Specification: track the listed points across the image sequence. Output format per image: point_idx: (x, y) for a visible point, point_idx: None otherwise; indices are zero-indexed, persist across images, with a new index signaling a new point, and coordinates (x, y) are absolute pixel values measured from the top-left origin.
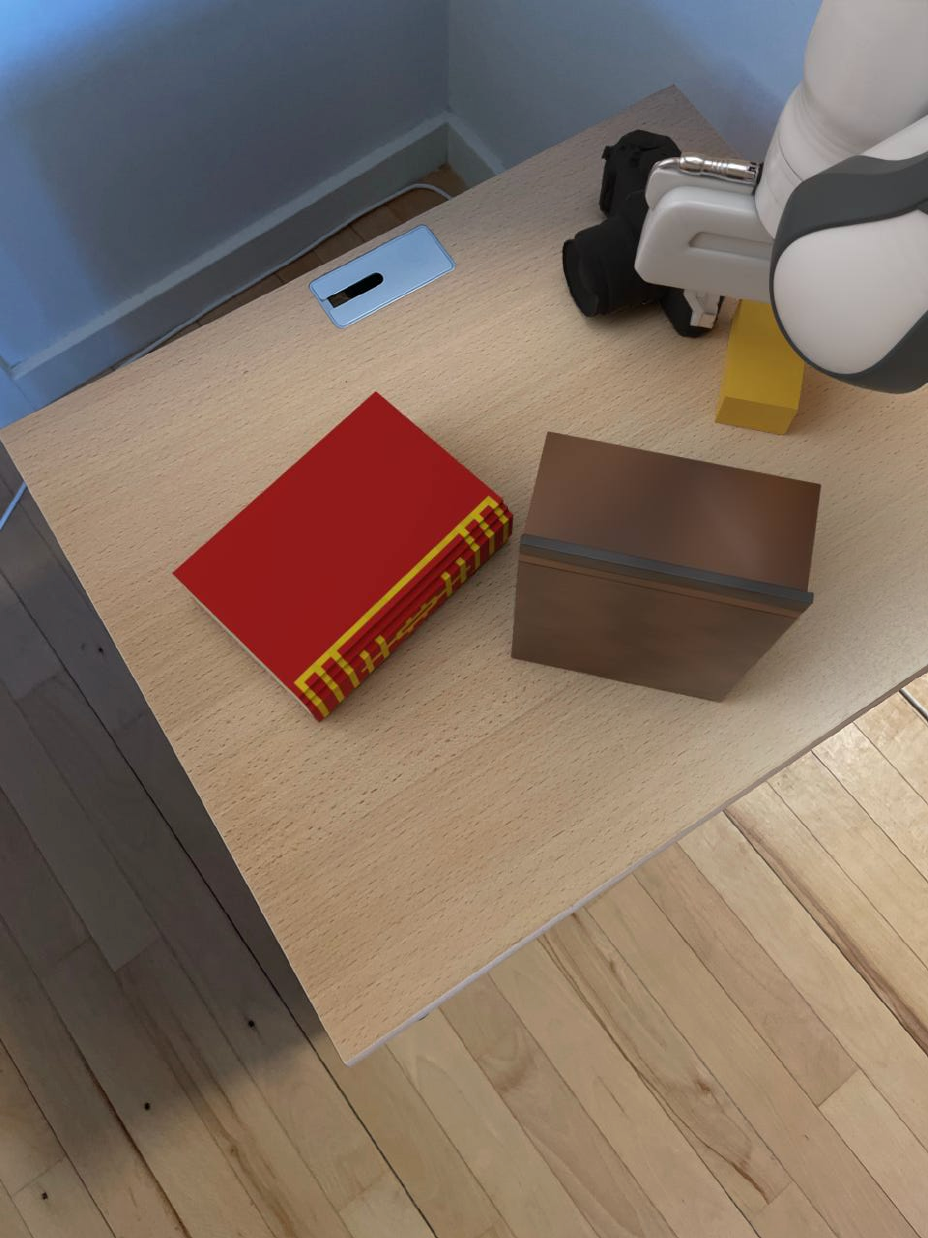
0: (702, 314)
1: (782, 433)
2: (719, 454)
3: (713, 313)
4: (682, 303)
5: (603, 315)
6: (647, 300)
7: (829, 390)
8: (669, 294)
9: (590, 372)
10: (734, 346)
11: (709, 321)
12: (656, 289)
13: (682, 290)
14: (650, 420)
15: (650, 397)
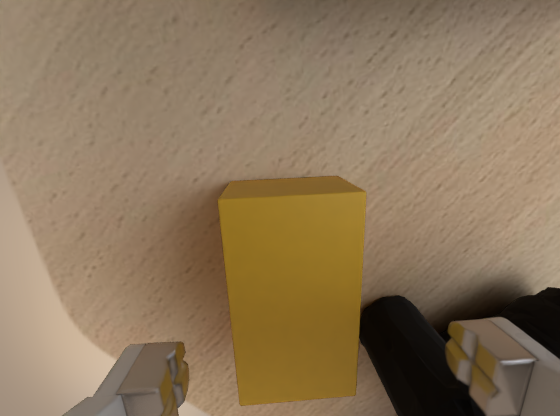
0: (532, 354)
1: (233, 181)
2: (322, 120)
3: (507, 365)
4: None
5: (533, 295)
6: None
7: (182, 270)
8: None
9: (521, 209)
10: (359, 296)
11: (489, 338)
12: None
13: None
14: (433, 153)
15: (435, 192)
